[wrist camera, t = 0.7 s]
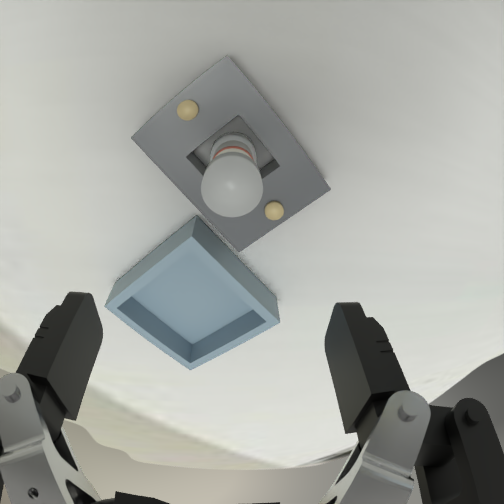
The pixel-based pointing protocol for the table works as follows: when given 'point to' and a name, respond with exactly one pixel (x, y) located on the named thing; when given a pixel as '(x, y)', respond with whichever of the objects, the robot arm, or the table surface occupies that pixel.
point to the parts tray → (193, 297)
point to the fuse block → (209, 122)
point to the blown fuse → (232, 176)
